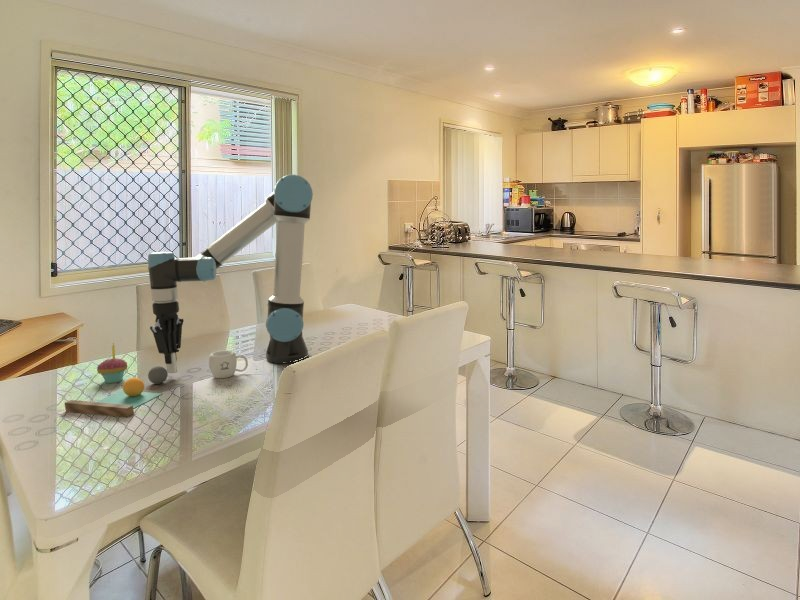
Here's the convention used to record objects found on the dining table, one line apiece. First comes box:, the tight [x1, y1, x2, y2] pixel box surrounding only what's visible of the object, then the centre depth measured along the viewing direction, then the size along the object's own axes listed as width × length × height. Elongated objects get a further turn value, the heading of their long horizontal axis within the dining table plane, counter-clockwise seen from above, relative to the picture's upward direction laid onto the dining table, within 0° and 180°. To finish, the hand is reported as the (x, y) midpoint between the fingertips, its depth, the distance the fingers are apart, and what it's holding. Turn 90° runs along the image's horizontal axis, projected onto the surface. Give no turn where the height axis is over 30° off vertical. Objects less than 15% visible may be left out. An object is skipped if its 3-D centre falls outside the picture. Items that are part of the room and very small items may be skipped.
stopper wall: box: [64, 399, 135, 418], centre depth 129 cm, size 20×2×2 cm, turn 77°
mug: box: [208, 349, 249, 379], centre depth 158 cm, size 12×8×8 cm
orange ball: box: [122, 377, 145, 397], centre depth 141 cm, size 6×6×6 cm
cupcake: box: [96, 342, 128, 384], centre depth 154 cm, size 9×8×12 cm
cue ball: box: [147, 365, 169, 385], centre depth 151 cm, size 6×6×6 cm
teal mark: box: [96, 389, 163, 410], centre depth 137 cm, size 14×14×1 cm
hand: (172, 372), depth 157 cm, fingers closed
